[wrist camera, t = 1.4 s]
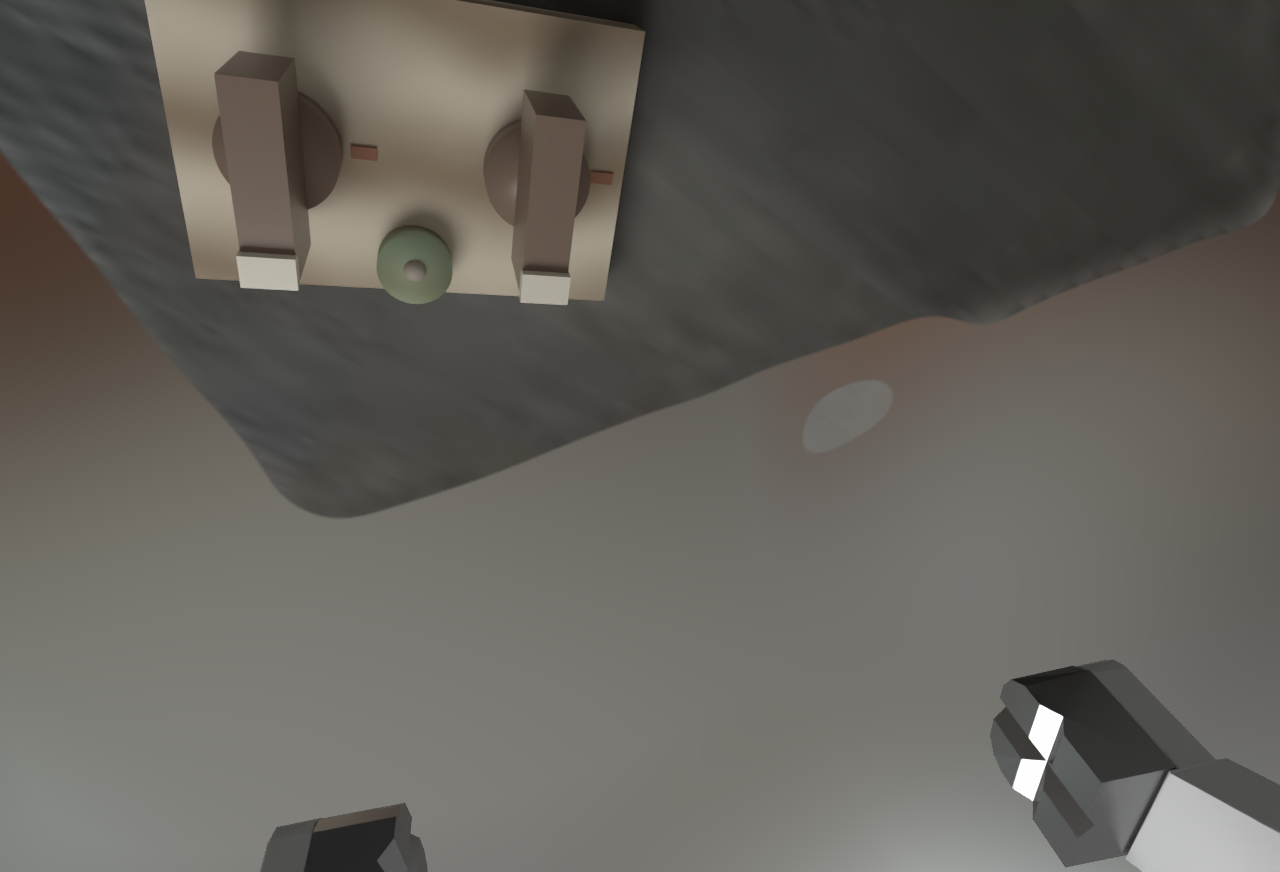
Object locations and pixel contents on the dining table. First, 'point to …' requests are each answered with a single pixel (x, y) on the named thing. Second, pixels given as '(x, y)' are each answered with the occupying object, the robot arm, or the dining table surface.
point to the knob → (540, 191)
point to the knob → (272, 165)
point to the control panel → (403, 130)
